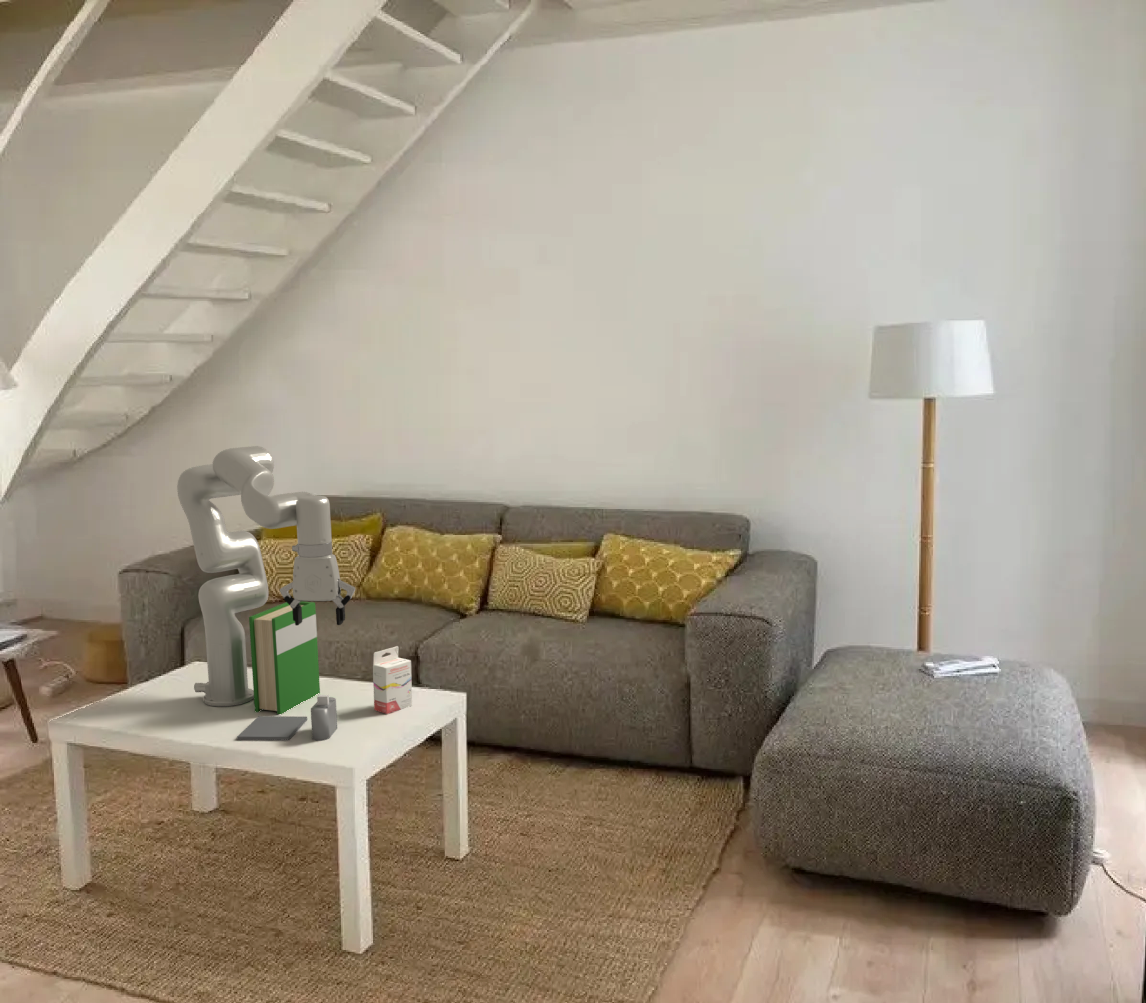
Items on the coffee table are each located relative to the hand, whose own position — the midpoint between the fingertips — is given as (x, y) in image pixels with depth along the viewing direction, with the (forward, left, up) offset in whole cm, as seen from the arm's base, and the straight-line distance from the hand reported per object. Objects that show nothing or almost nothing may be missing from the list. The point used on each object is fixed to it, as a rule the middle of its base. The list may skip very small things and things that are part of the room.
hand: (319, 623), depth 262 cm
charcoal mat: (-13, +2, -26) cm, 29 cm away
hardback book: (-16, +22, -26) cm, 38 cm away
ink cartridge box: (+12, +18, -26) cm, 34 cm away
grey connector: (0, 0, -26) cm, 26 cm away
